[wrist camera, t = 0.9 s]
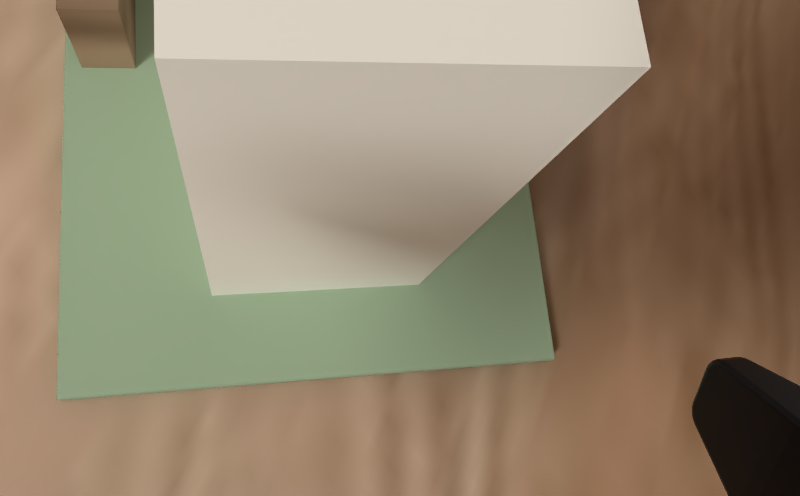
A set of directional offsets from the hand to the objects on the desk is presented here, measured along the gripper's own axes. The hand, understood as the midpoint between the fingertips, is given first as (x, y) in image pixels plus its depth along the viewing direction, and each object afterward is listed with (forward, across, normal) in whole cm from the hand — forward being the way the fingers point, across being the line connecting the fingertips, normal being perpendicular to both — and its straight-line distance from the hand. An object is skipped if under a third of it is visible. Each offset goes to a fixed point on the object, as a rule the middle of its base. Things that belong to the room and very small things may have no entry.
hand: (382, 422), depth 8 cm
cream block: (+14, -1, +3) cm, 14 cm away
